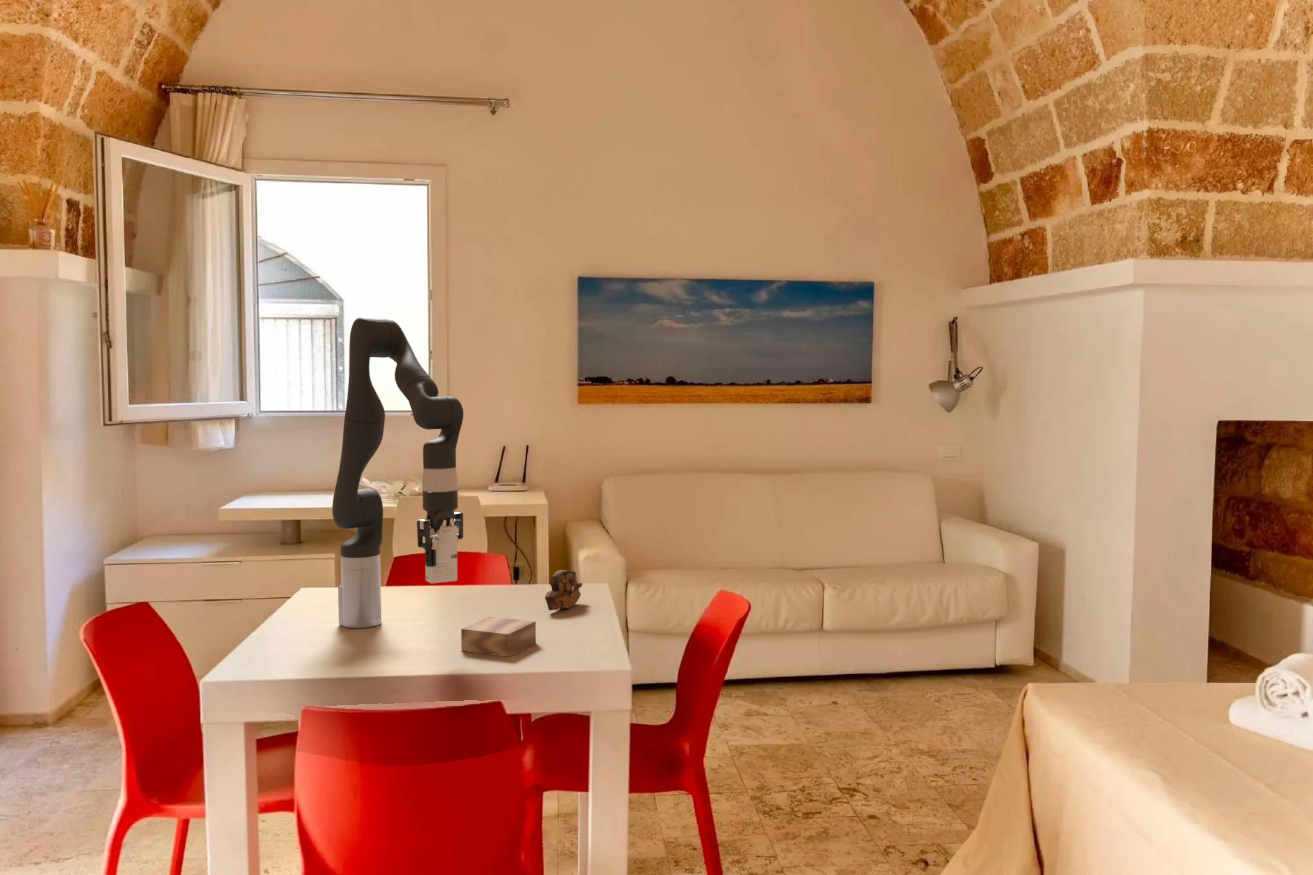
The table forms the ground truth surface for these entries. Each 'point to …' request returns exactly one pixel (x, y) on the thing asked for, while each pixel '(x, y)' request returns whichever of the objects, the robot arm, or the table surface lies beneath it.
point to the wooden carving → (563, 590)
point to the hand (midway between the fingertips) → (441, 563)
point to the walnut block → (498, 636)
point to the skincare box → (444, 557)
